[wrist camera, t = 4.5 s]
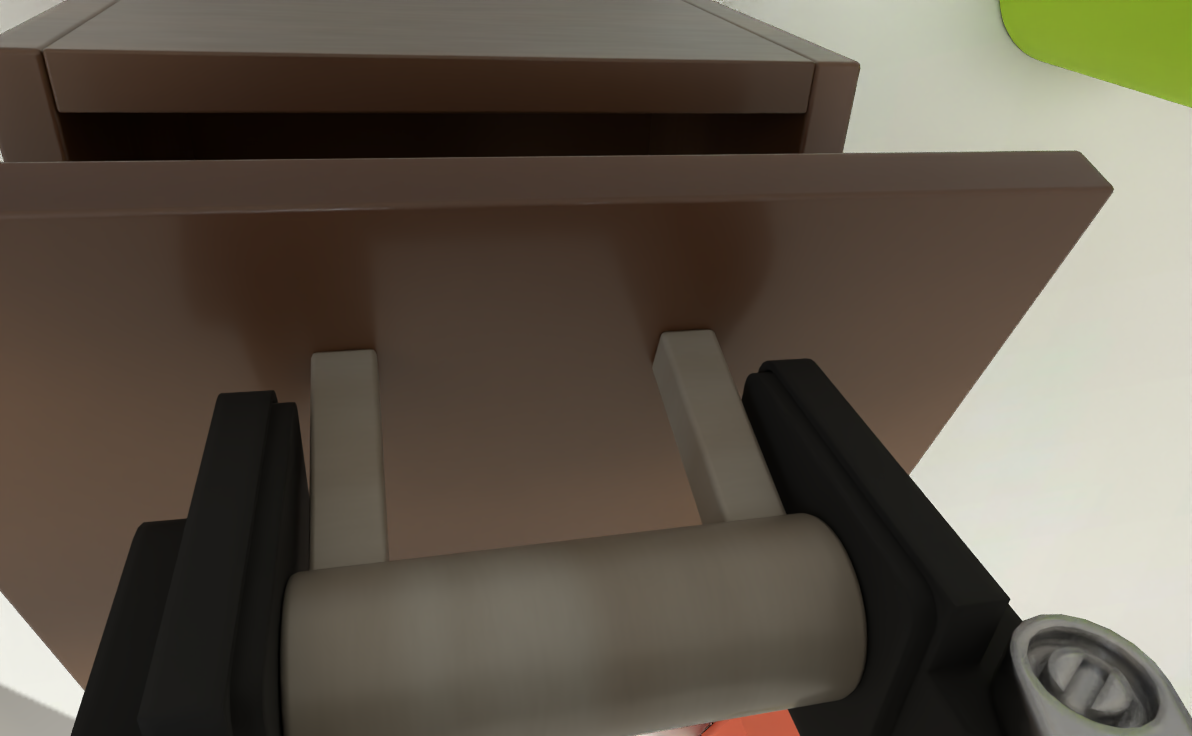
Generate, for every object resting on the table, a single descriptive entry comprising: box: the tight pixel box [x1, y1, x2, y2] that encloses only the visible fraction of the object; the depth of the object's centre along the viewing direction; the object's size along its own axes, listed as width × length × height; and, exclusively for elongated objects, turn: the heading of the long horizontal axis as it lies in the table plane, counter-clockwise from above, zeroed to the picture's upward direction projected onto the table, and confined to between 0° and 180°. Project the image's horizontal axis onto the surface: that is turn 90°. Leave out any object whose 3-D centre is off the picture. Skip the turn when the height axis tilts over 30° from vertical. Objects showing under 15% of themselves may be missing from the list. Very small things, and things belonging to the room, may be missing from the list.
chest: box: [0, 0, 860, 162], centre depth 22 cm, size 16×14×10 cm
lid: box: [0, 151, 1114, 736], centre depth 13 cm, size 17×14×5 cm
